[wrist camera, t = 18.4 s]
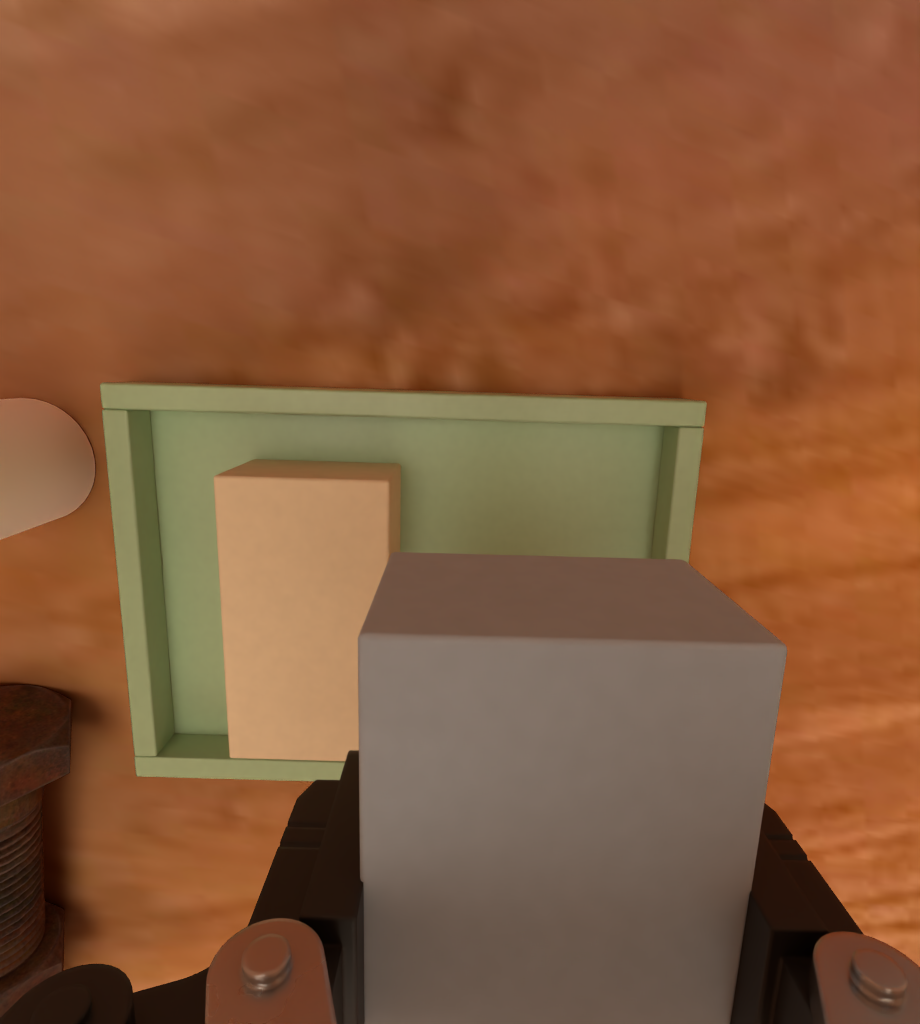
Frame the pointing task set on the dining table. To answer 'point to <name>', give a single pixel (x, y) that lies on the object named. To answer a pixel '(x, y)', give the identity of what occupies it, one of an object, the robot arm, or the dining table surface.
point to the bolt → (28, 835)
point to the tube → (40, 464)
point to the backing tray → (423, 518)
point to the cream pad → (299, 598)
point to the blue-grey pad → (558, 789)
